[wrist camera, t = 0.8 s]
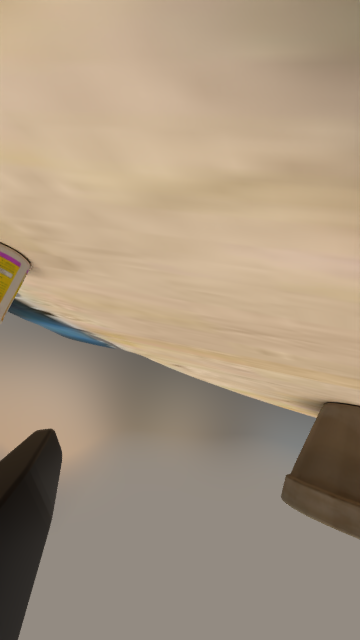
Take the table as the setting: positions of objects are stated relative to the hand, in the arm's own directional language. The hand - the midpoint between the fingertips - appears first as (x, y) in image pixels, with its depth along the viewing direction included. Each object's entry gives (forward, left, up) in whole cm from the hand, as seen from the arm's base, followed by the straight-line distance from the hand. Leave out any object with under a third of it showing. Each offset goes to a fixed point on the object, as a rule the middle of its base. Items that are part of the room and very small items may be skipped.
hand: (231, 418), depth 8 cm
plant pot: (-1, +69, -13) cm, 71 cm away
